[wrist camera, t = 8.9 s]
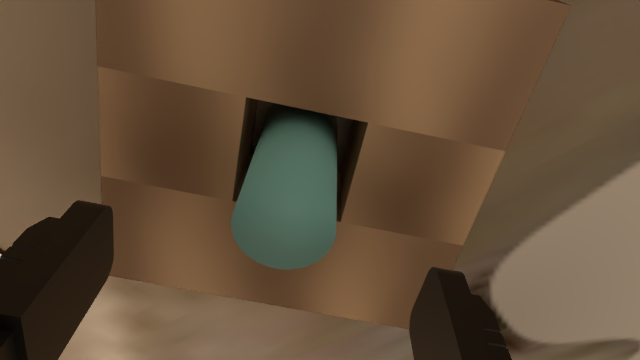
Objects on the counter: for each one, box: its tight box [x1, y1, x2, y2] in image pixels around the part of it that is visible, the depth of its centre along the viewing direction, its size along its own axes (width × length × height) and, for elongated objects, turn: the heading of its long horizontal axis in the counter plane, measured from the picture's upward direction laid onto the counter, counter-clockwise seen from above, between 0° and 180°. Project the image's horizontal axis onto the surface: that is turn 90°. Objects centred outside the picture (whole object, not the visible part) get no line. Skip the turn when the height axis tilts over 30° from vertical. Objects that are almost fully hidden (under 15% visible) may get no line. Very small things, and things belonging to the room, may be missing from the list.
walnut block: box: [95, 0, 571, 329], centre depth 18 cm, size 14×14×4 cm
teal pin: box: [231, 103, 337, 270], centre depth 17 cm, size 3×3×8 cm
